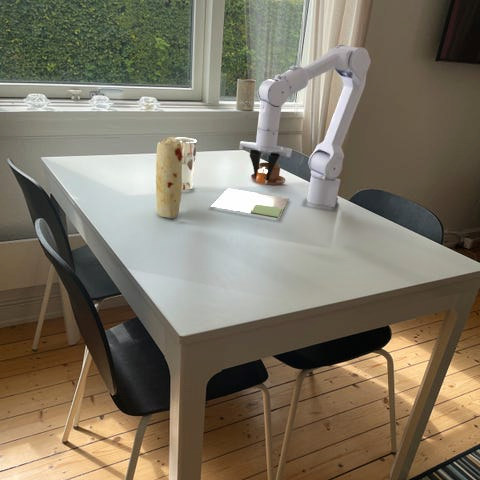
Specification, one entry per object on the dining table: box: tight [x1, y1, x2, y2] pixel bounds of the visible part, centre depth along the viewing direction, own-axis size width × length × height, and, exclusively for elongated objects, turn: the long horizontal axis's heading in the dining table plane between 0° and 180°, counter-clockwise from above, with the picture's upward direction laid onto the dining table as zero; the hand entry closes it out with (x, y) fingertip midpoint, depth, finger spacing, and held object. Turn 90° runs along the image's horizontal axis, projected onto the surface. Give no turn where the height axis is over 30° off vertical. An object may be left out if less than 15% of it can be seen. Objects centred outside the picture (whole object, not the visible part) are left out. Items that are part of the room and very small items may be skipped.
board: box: [210, 188, 290, 219], centre depth 146 cm, size 20×20×1 cm
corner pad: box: [249, 204, 282, 218], centre depth 140 cm, size 8×8×1 cm
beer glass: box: [175, 137, 197, 190], centre depth 149 cm, size 7×7×15 cm
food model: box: [155, 136, 183, 220], centre depth 127 cm, size 10×7×20 cm
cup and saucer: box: [250, 162, 286, 186], centre depth 167 cm, size 12×12×6 cm
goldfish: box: [255, 168, 268, 185], centre depth 139 cm, size 6×3×4 cm, turn 166°
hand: (261, 178), depth 139 cm, fingers closed on goldfish, 3 cm apart
